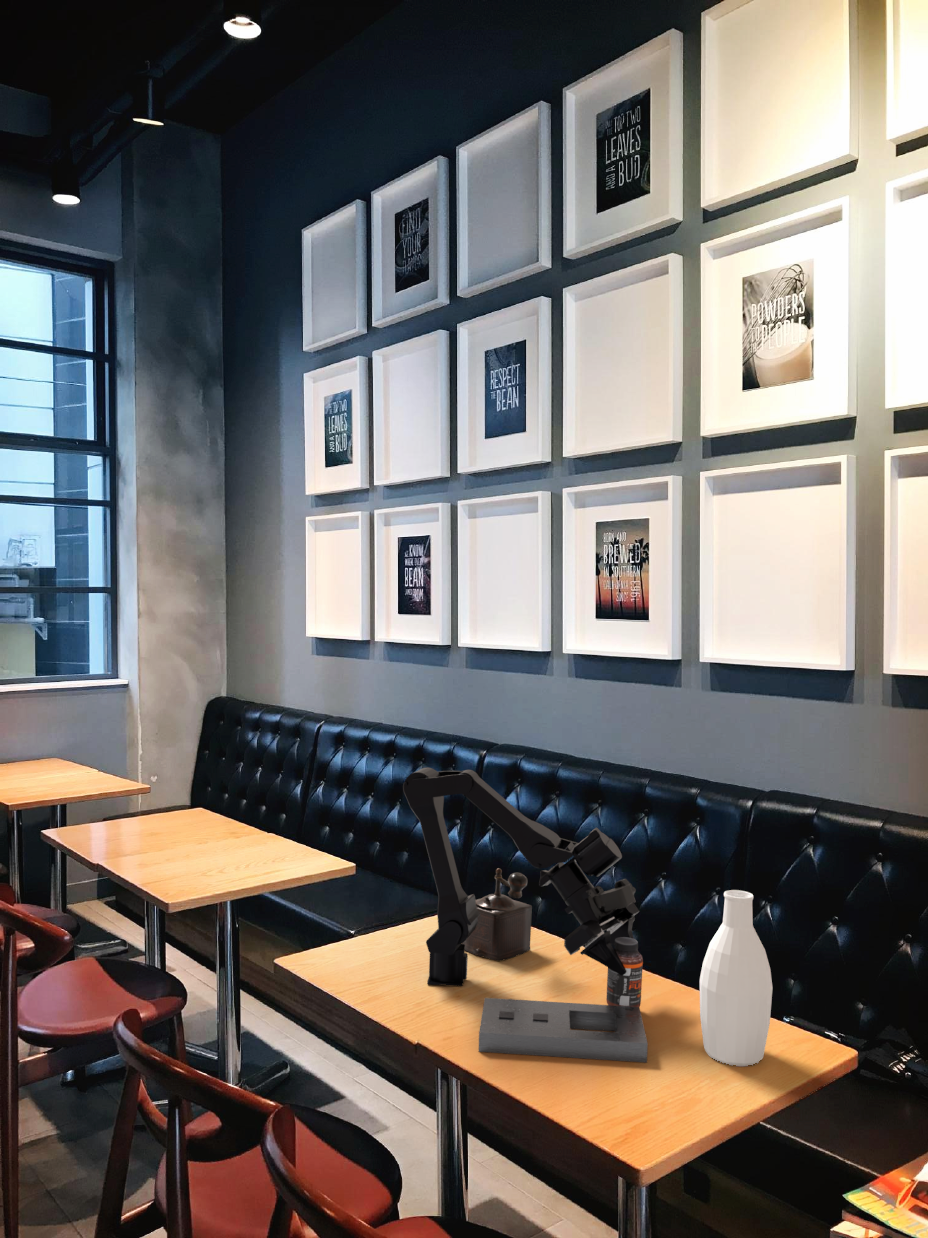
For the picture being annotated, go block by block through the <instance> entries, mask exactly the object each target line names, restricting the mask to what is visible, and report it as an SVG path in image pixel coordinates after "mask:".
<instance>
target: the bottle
mask: <svg viewBox="0 0 928 1238" xmlns="http://www.w3.org/2000/svg"><path fill="white" fill-rule="evenodd" d="M723 897H724V904H723V915H722V923H721V924H720V926H719V927H718V930H717V931H716V933H715V934H714V936H713V937H712V939H711V940H710V942H709V944H708V947H707V950H706V953H705V956H704V958H703V961H702V967H701V971H700V976H699V1017H700V1019H699V1020H700V1024H701V1025H700V1026H701V1033H702V1043H703V1047H704V1051H705V1053H706V1054H707V1055H708V1056H709V1058H711V1059H712V1058H713V1059H712V1060H714V1059H715V1060H714V1061H716V1060H717V1061H716V1062H718V1061H720V1062H719V1063H721V1062H722V1063H721V1064H724V1063H726V1064H725V1065H727V1064H729V1065H728V1066H733V1065H736V1066H735V1067H749V1066H748V1065H752V1066H754V1065H753V1064H755V1063H757V1064H759V1063H760V1062H761V1061H760V1060H763V1058H764V1056H765V1055H764V1054H765V1049H766V1045H767V1041H768V1040H767V1038H768V1033H769V1029H770V1023H771V1012H772V1011H771V1010H772V999H773V998H772V997H773V982H772V972H771V971H772V970H771V967H770V963H769V959H768V955H767V952H766V949H765V947H764V945H763V944H762V943H763V942H762V941H761V940H760V937H759V935H758V933H757V932H756V929H755V928H754V925H753V923H754V922H753V919H754V918H753V917H754V916H753V900H754V895H753V893H751V892H749V891H745V890H741V889H740V890H739V889H731V890H729V889H728V890H725V891H724V892H723ZM759 1061H760V1062H759ZM755 1065H756V1064H755Z"/></svg>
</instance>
